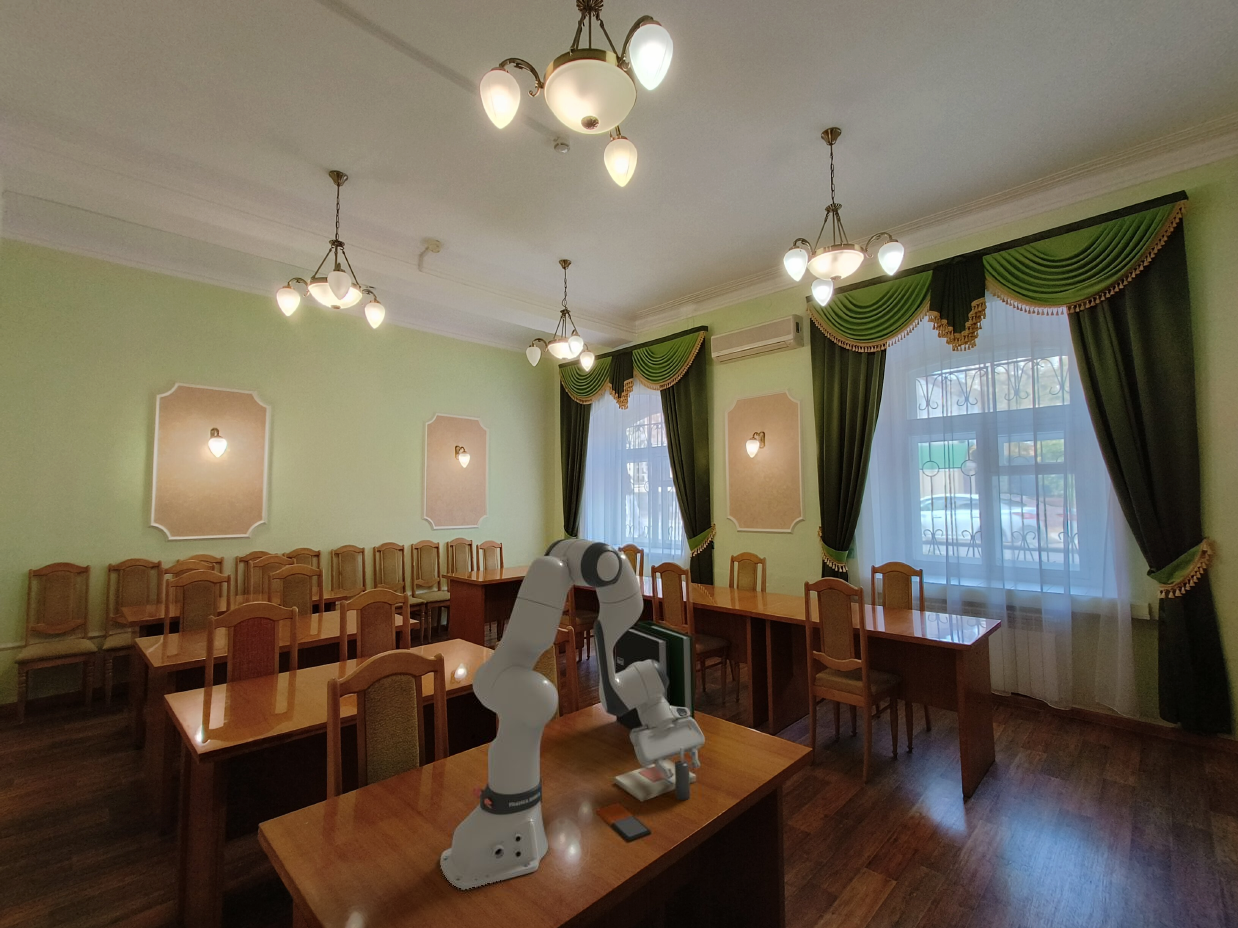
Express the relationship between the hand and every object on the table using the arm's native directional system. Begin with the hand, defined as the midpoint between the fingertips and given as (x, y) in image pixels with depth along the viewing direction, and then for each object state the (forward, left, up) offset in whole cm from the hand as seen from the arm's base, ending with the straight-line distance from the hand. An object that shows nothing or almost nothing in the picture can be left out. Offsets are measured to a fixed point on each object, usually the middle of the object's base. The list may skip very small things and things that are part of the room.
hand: (683, 772), depth 147 cm
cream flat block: (-1, +11, -6) cm, 12 cm away
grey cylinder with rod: (0, +1, -6) cm, 6 cm away
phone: (-19, 0, -7) cm, 20 cm away
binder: (+20, +39, -6) cm, 44 cm away
